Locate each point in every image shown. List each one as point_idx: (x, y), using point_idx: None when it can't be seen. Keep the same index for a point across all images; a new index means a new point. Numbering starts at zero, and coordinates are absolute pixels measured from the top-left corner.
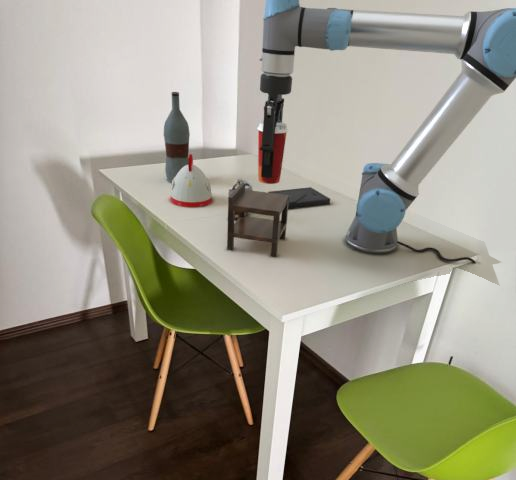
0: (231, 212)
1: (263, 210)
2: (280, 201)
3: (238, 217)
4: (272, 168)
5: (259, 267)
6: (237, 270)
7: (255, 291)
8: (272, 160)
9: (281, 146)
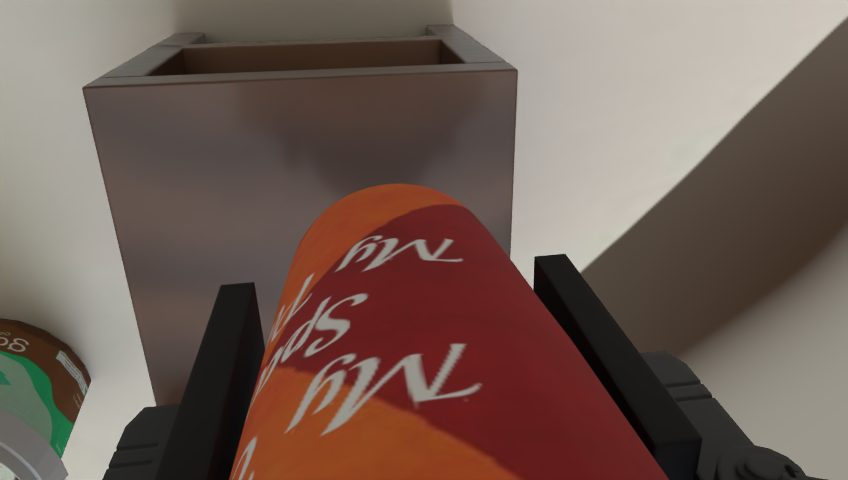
0: None
1: (511, 187)
2: (284, 119)
3: (58, 349)
4: (580, 302)
5: (592, 74)
6: (645, 159)
7: (825, 25)
8: (640, 361)
9: (588, 410)
